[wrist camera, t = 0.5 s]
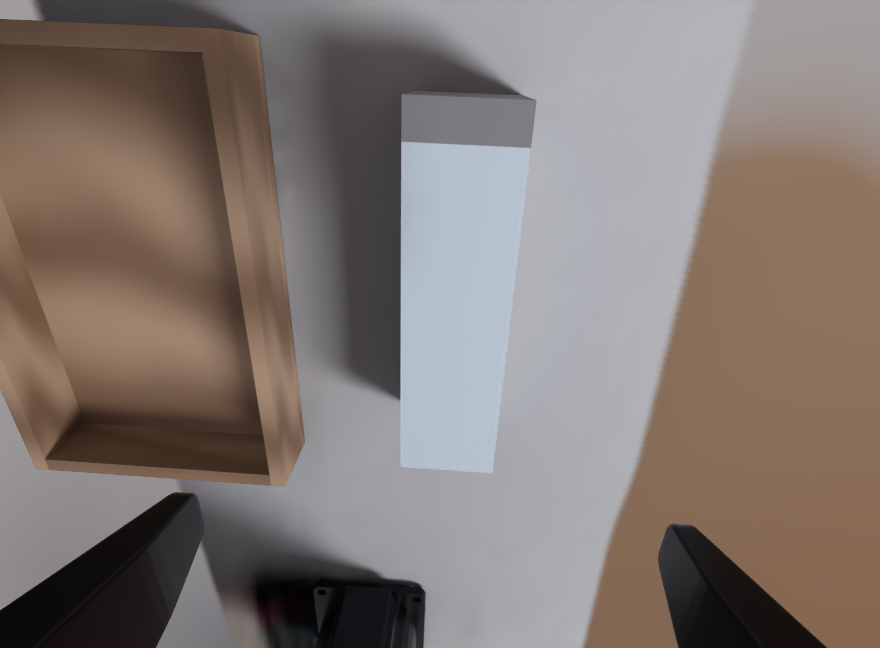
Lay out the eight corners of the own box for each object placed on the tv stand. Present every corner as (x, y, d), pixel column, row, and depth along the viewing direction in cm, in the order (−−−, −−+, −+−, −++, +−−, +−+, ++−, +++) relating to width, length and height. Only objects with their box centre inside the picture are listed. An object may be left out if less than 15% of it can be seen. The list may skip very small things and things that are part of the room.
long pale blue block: (488, 410, 22) (492, 473, 19) (411, 405, 23) (400, 466, 19) (521, 94, 16) (536, 100, 13) (415, 90, 17) (401, 94, 13)
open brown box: (304, 442, 24) (284, 486, 21) (82, 426, 24) (36, 468, 22) (259, 36, 16) (218, 28, 13) (-69, 21, 16) (-170, 12, 14)
